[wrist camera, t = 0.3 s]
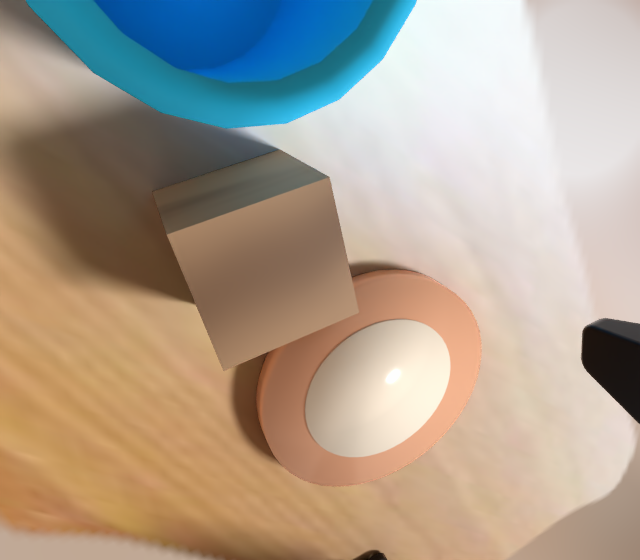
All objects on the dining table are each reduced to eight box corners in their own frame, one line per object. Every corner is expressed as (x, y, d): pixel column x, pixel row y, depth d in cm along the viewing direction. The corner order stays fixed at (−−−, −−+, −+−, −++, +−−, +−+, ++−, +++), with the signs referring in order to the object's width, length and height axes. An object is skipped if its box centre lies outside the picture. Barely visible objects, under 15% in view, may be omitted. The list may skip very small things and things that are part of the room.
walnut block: (308, 260, 21) (359, 312, 17) (198, 304, 20) (223, 371, 16) (279, 149, 19) (329, 177, 15) (151, 191, 18) (166, 234, 13)
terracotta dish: (474, 410, 29) (488, 424, 28) (291, 504, 27) (299, 523, 26) (458, 233, 24) (475, 242, 22) (222, 330, 21) (229, 345, 20)
